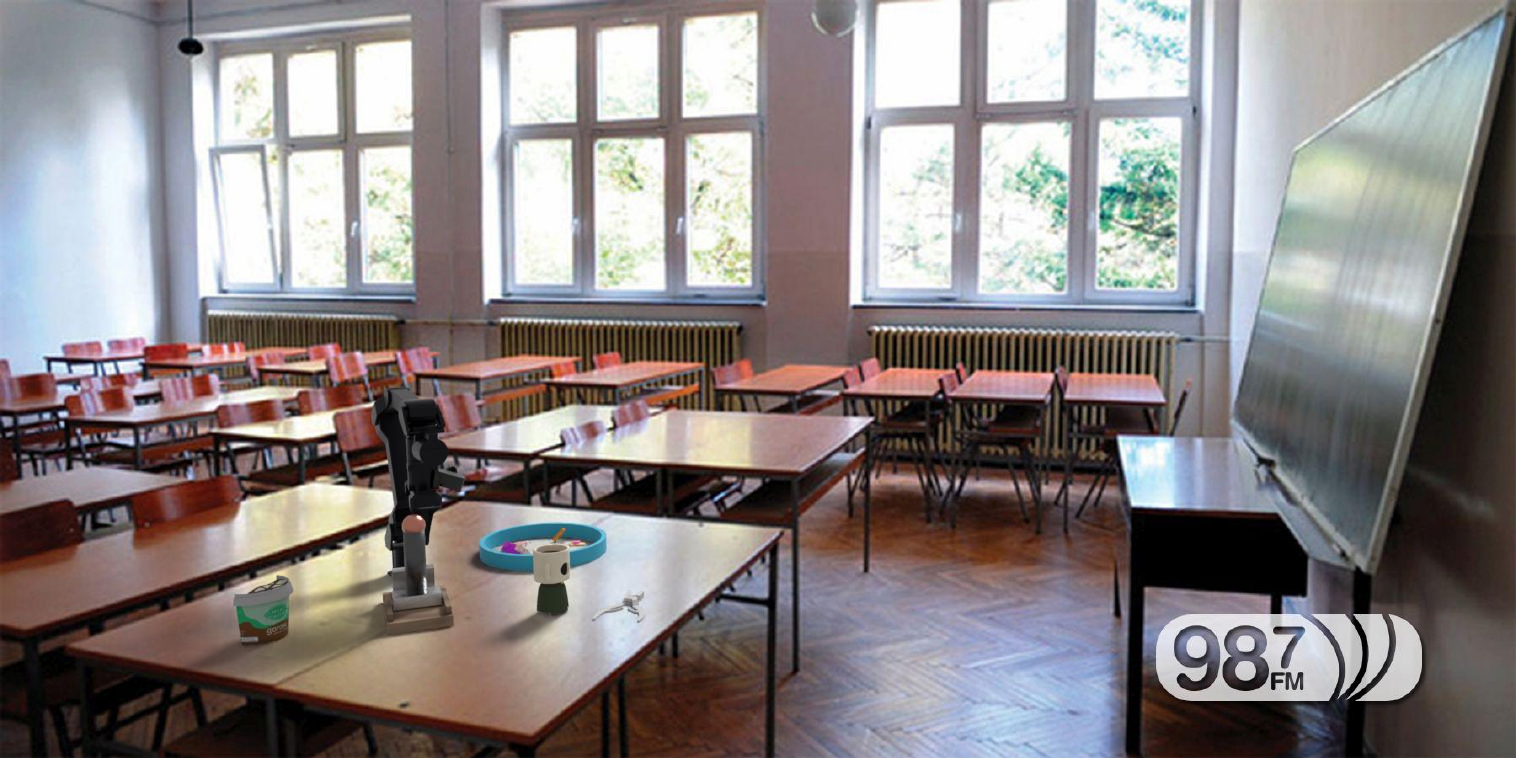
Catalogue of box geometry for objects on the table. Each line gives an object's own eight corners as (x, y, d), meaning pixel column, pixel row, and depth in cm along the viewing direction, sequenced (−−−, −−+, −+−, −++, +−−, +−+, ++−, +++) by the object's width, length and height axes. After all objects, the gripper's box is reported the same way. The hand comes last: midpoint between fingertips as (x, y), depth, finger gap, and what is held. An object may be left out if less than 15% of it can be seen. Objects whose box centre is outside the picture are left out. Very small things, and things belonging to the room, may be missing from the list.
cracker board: (383, 602, 203) (381, 568, 202) (443, 594, 207) (442, 562, 206) (387, 634, 184) (385, 598, 183) (453, 625, 189) (452, 590, 188)
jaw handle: (392, 602, 195) (388, 513, 193) (439, 596, 199) (436, 509, 197) (393, 611, 190) (389, 519, 188) (442, 604, 194) (438, 514, 192)
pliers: (591, 613, 191) (613, 589, 206) (591, 621, 192) (613, 596, 206) (640, 616, 190) (659, 591, 205) (641, 624, 190) (659, 598, 205)
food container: (265, 651, 177) (262, 597, 176) (235, 648, 178) (232, 594, 177) (309, 626, 189) (307, 576, 188) (281, 624, 190) (278, 574, 189)
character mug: (566, 621, 191) (564, 556, 189) (529, 621, 191) (527, 556, 189) (575, 602, 202) (573, 540, 200) (540, 603, 201) (538, 541, 200)
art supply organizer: (453, 564, 230) (452, 540, 229) (527, 532, 258) (526, 510, 257) (564, 578, 219) (563, 552, 218) (628, 543, 247) (628, 520, 246)
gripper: (466, 464, 200) (469, 538, 202) (456, 449, 217) (459, 518, 219) (408, 468, 196) (411, 544, 198) (403, 452, 213) (406, 523, 215)
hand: (424, 532), depth 207 cm, fingers open, 9 cm apart
